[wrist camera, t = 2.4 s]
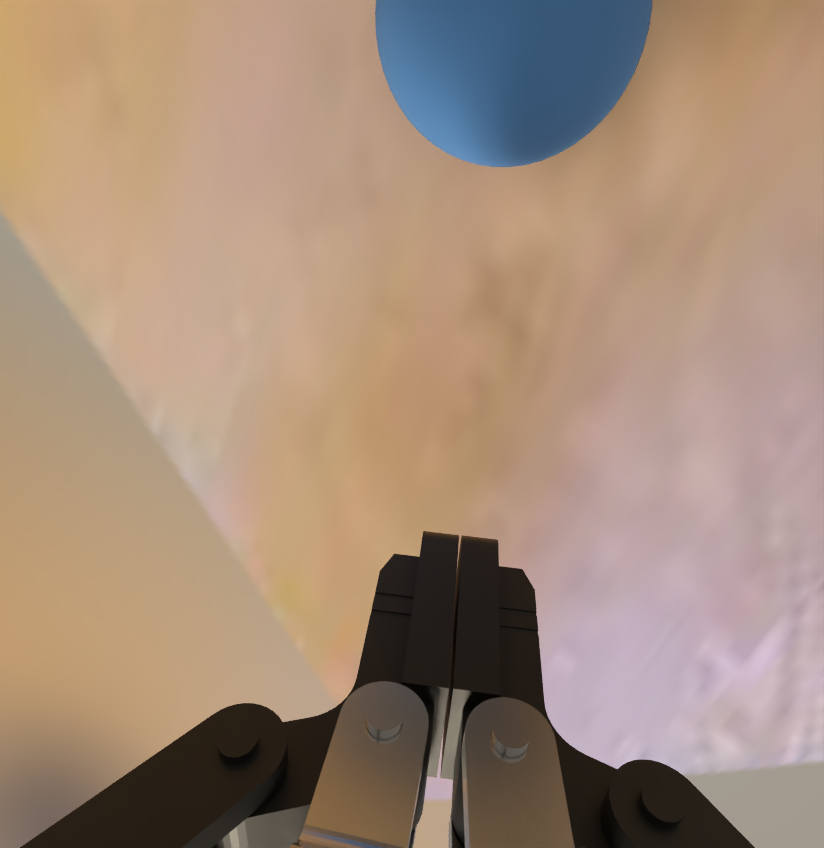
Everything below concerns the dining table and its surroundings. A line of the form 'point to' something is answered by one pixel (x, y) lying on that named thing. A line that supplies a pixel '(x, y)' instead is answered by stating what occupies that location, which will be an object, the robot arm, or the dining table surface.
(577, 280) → the dining table surface
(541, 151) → the ball
